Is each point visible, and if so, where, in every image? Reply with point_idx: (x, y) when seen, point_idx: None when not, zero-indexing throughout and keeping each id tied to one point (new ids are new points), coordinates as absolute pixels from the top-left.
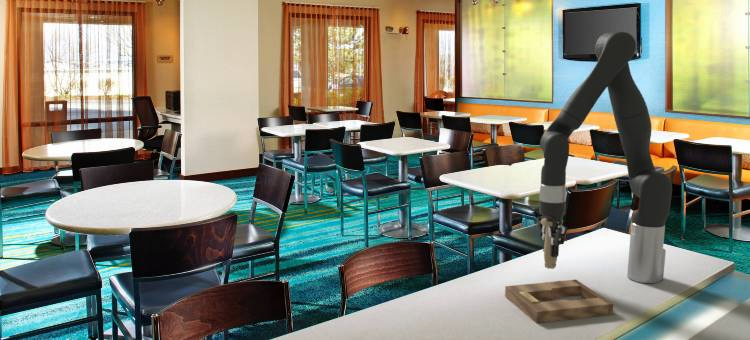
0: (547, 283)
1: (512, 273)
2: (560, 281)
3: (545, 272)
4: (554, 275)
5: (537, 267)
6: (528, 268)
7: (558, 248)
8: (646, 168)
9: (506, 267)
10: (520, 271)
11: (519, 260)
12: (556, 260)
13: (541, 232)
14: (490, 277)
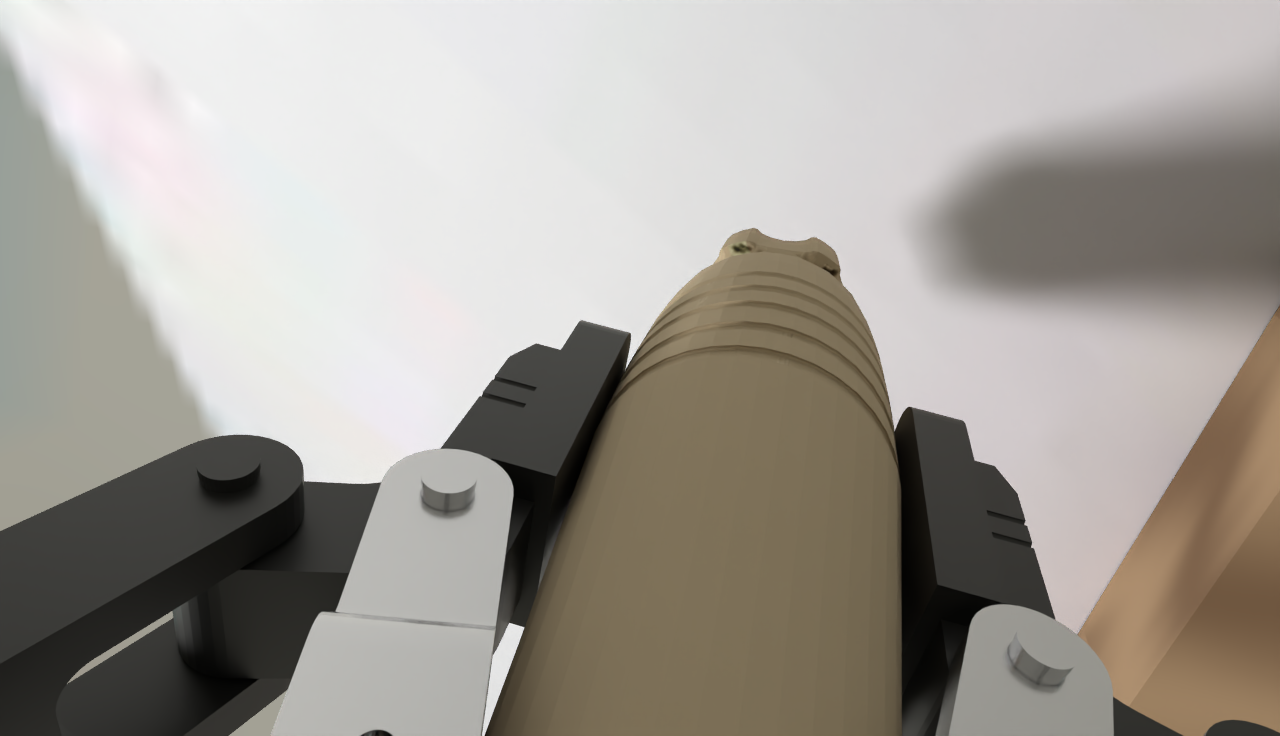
0: (1180, 706)
1: None
2: (1261, 544)
3: (577, 135)
4: (728, 103)
5: (373, 94)
6: (376, 231)
7: (1044, 598)
8: None
9: (287, 420)
10: (440, 381)
11: (83, 127)
12: (865, 320)
13: (237, 717)
14: (495, 697)
